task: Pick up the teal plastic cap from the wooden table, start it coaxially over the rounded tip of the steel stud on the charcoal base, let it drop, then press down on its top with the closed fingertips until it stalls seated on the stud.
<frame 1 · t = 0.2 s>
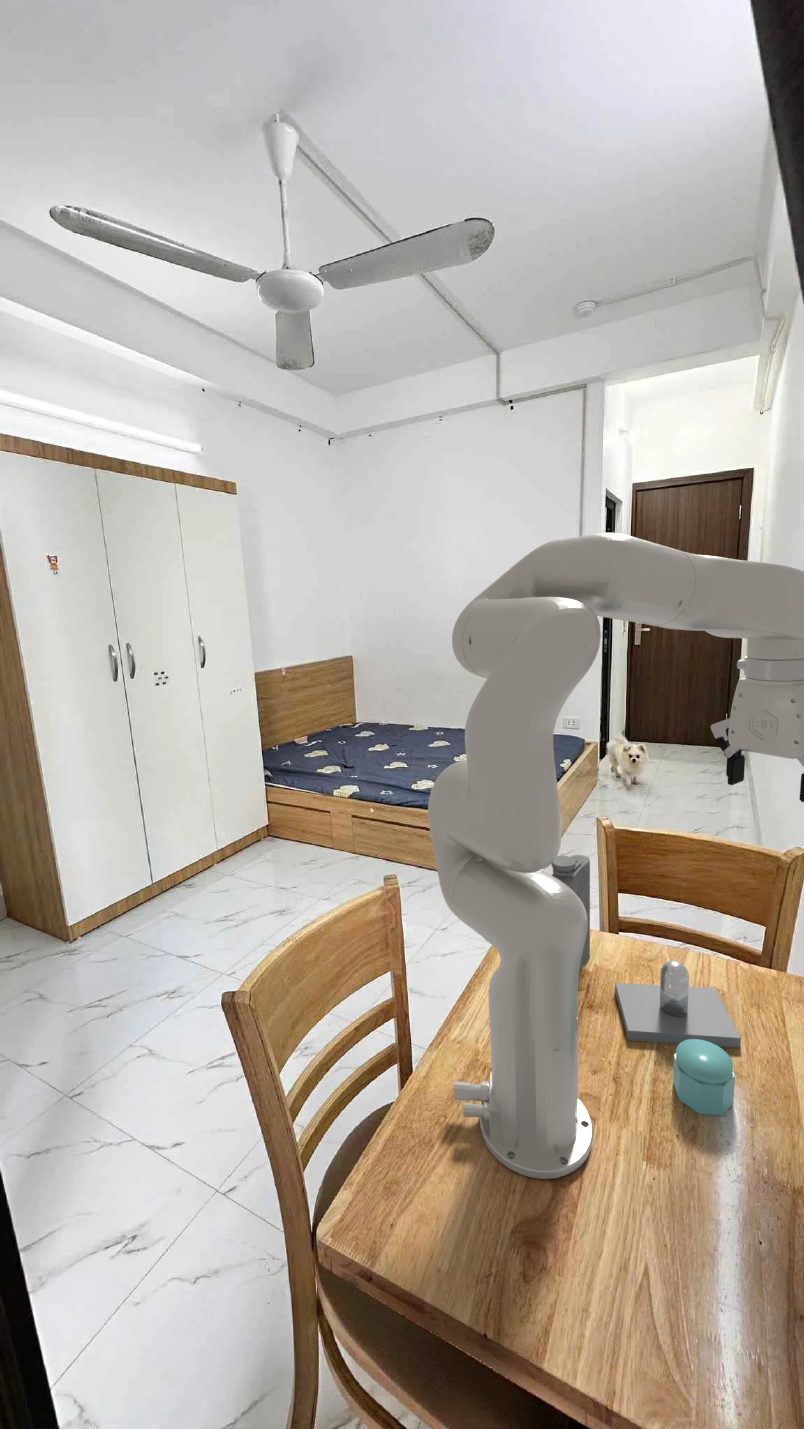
hand: (770, 791, 83), 31 cm above the table, tool pointing down, fingers open, 9 cm apart
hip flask: (565, 977, 94), on the table
cap: (702, 1093, 71), on the table
steel stud: (674, 985, 83), on the stud base, point 5 cm above the table
stud base: (673, 1017, 84), on the table
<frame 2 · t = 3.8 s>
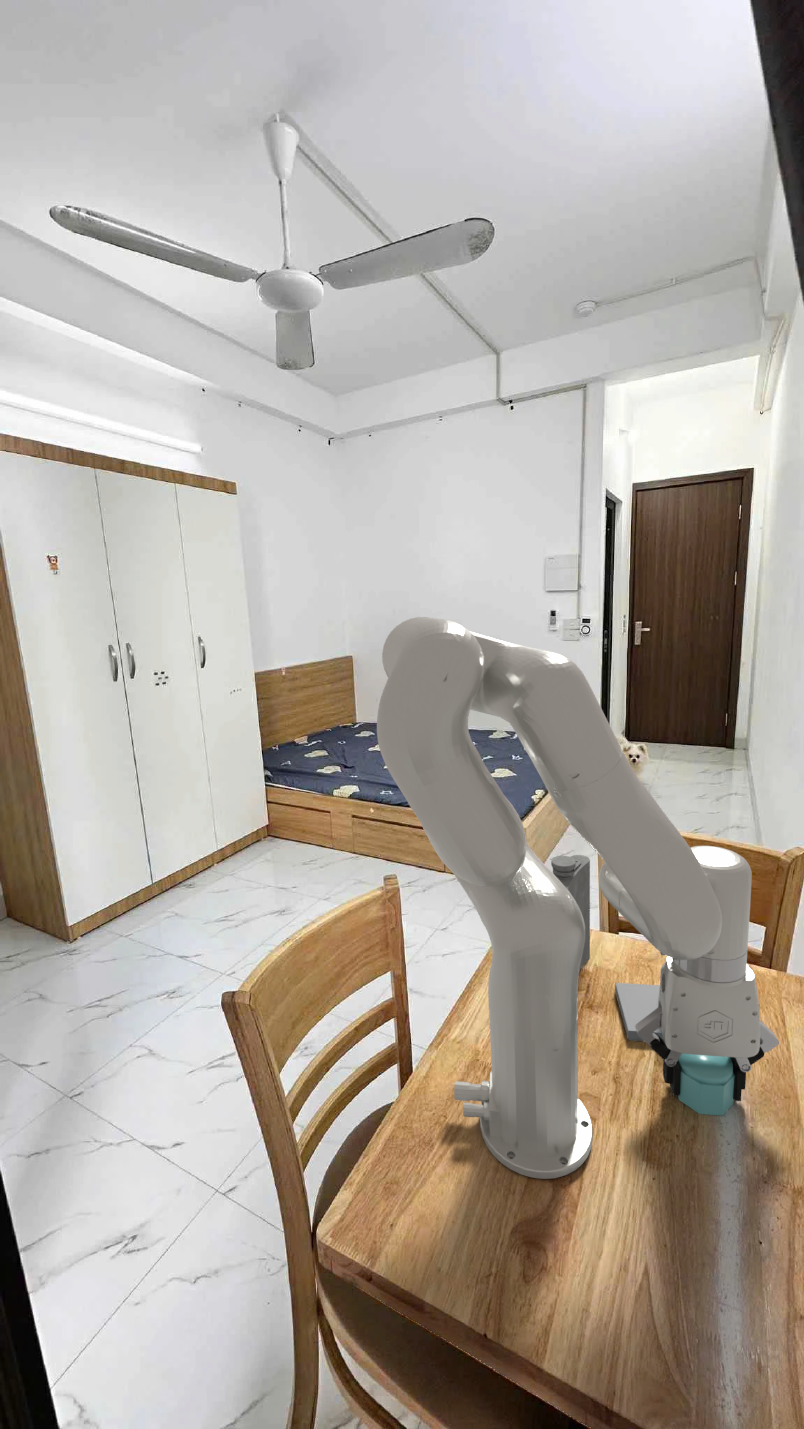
hand: (702, 1087, 71), 1 cm above the table, tool pointing down, fingers closed on cap, 6 cm apart
cap: (702, 1093, 71), on the table, touching gripper
everything else where it was.
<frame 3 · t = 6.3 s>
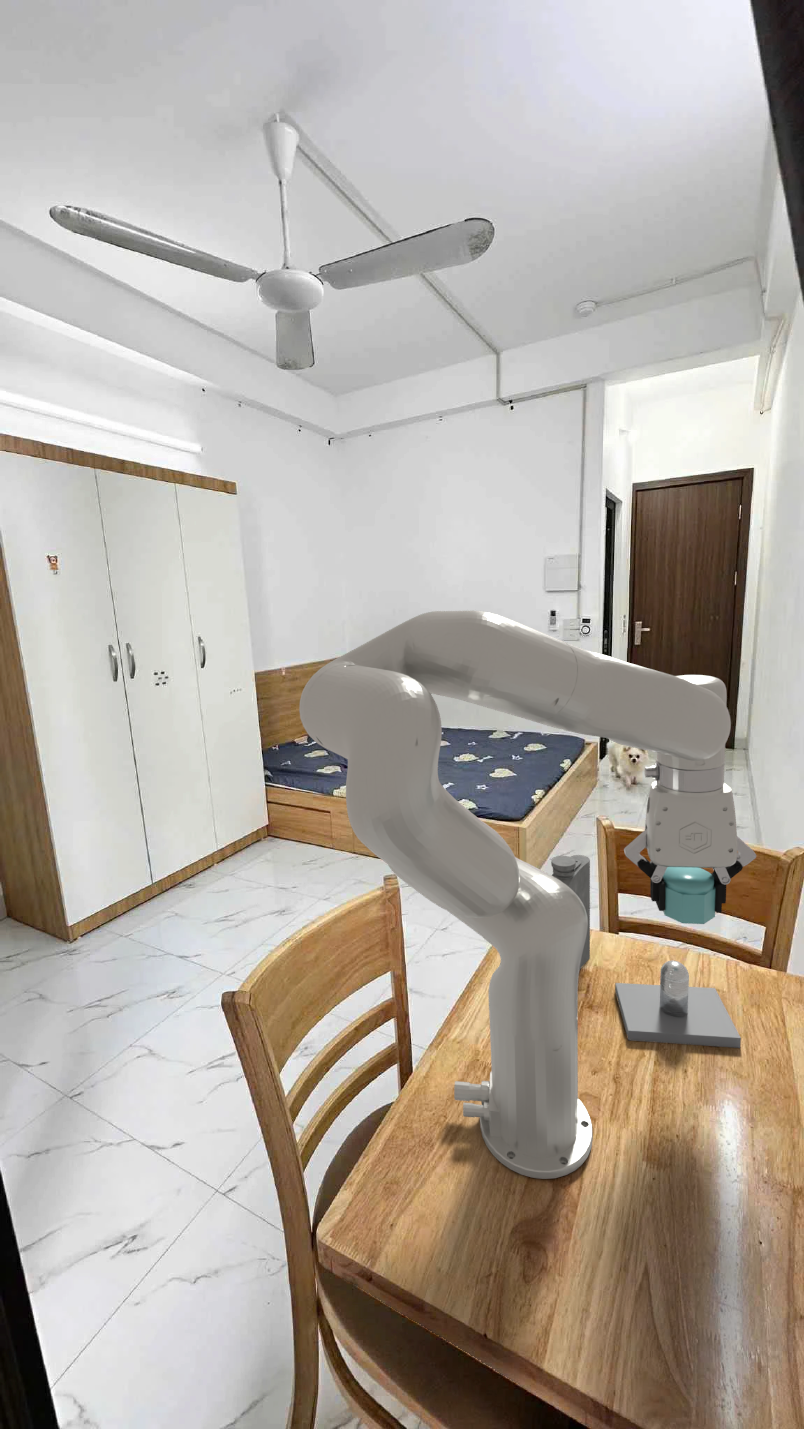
hand: (687, 905, 77), 19 cm above the table, tool pointing down, fingers closed on cap, 6 cm apart
cap: (687, 910, 77), point 18 cm above the table, touching gripper
everything else where it was.
when the fingers open (8 cm above the table, at t = 8.8 s): cap drops 3 cm, resting on steel stud.
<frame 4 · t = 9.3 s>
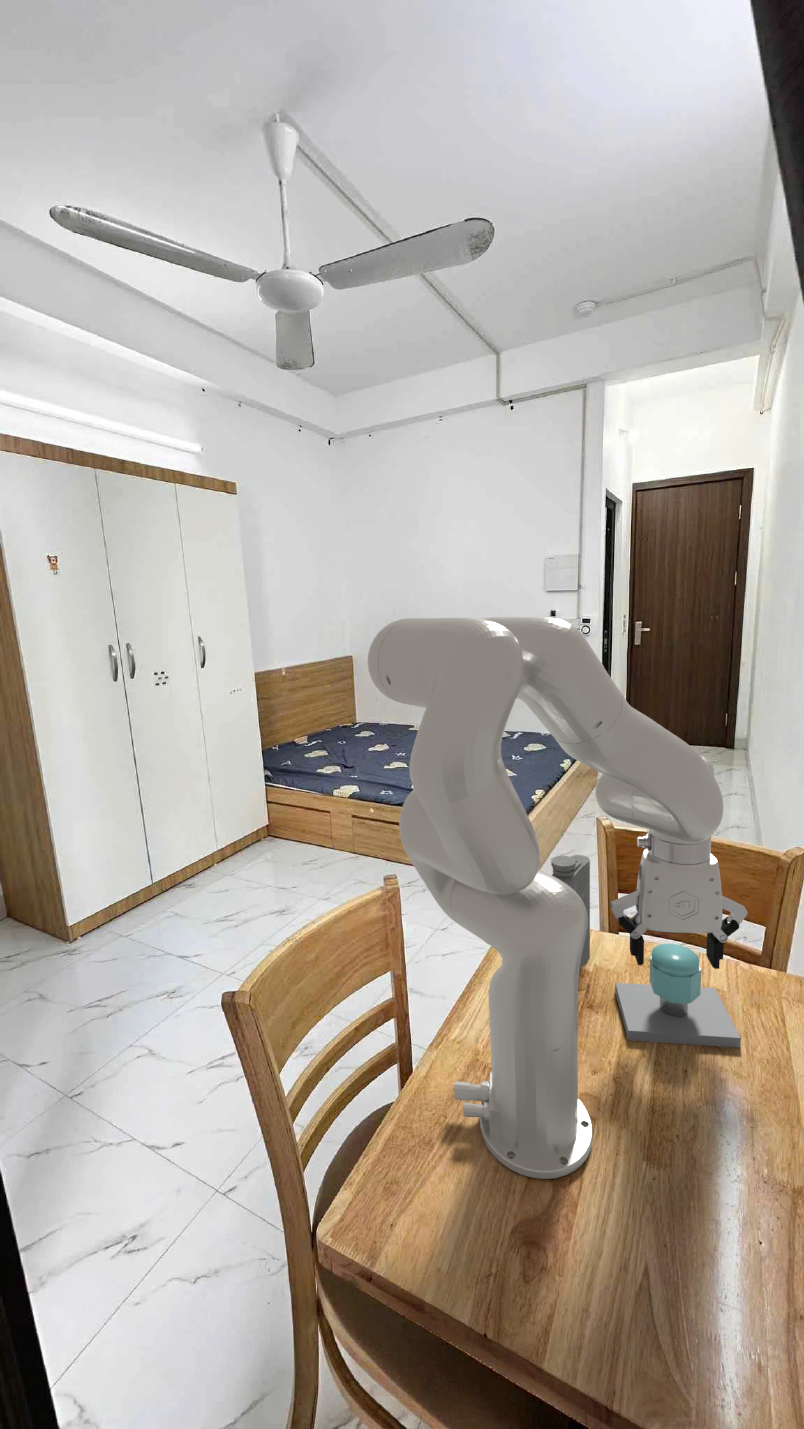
hand: (675, 960, 82), 9 cm above the table, tool pointing down, fingers open, 9 cm apart
cap: (674, 988, 83), point 5 cm above the table, touching steel stud
everything else where it was.
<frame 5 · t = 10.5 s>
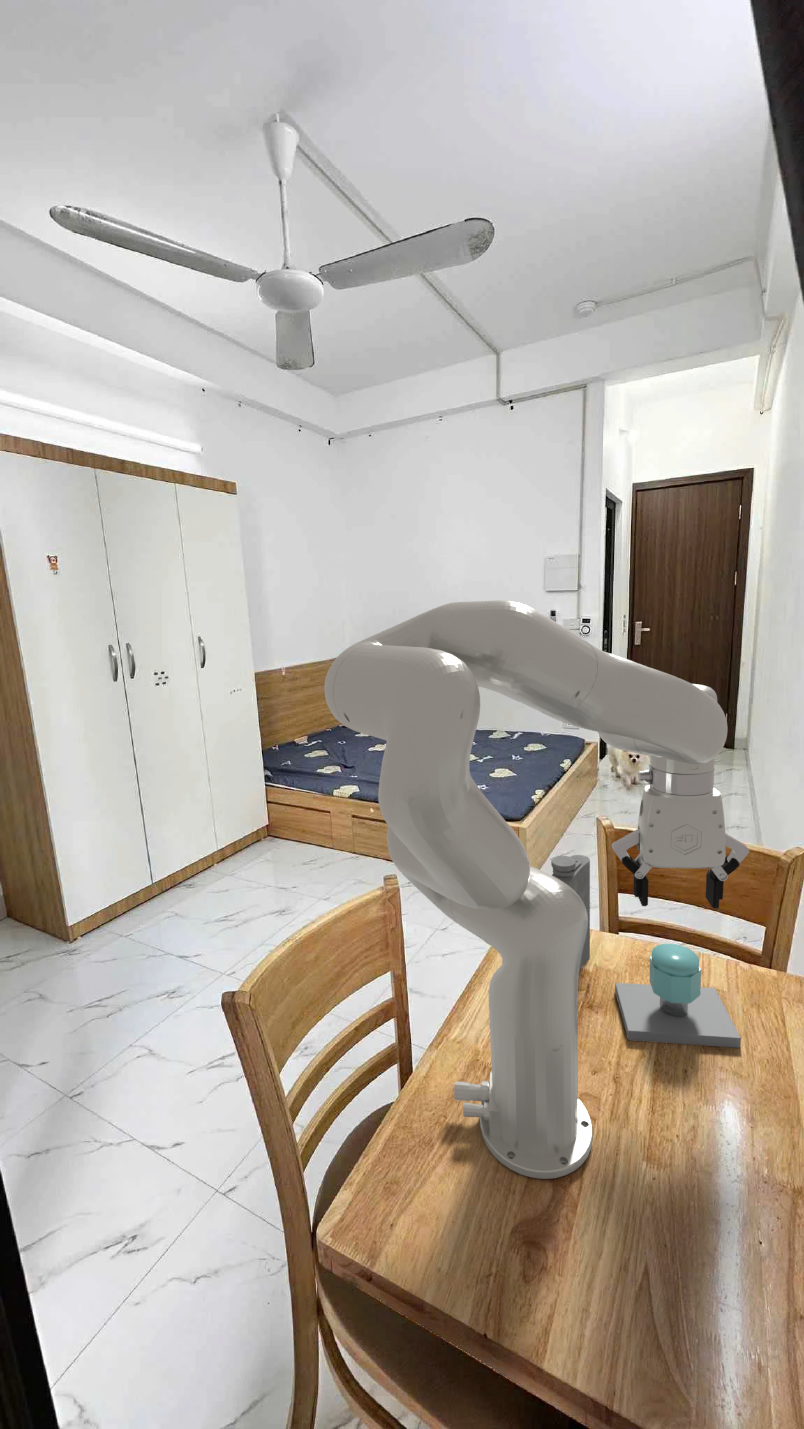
hand: (676, 901, 80), 18 cm above the table, tool pointing down, fingers open, 8 cm apart
nothing on the table moved.
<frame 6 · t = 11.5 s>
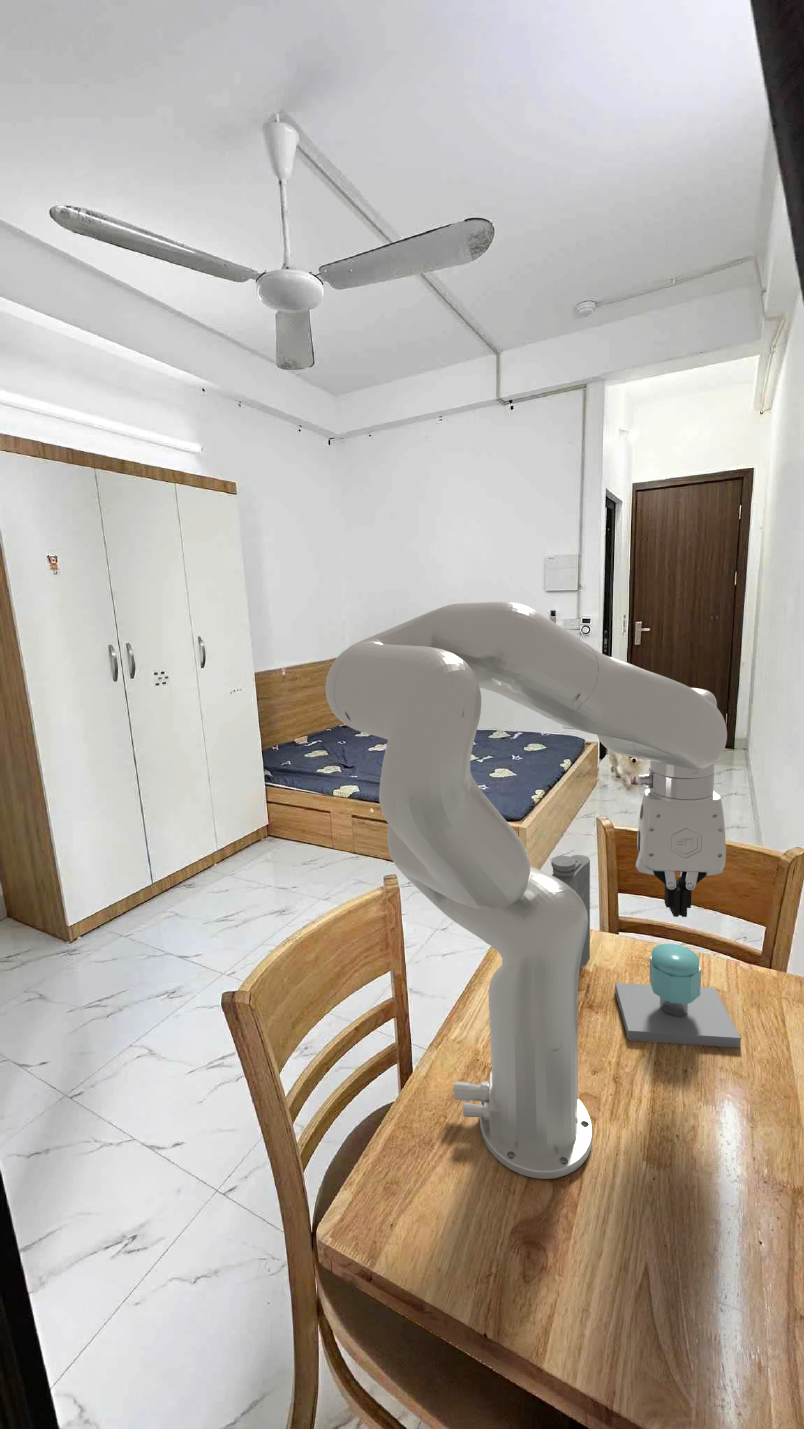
hand: (677, 911, 81), 16 cm above the table, tool pointing down, fingers closed
nothing on the table moved.
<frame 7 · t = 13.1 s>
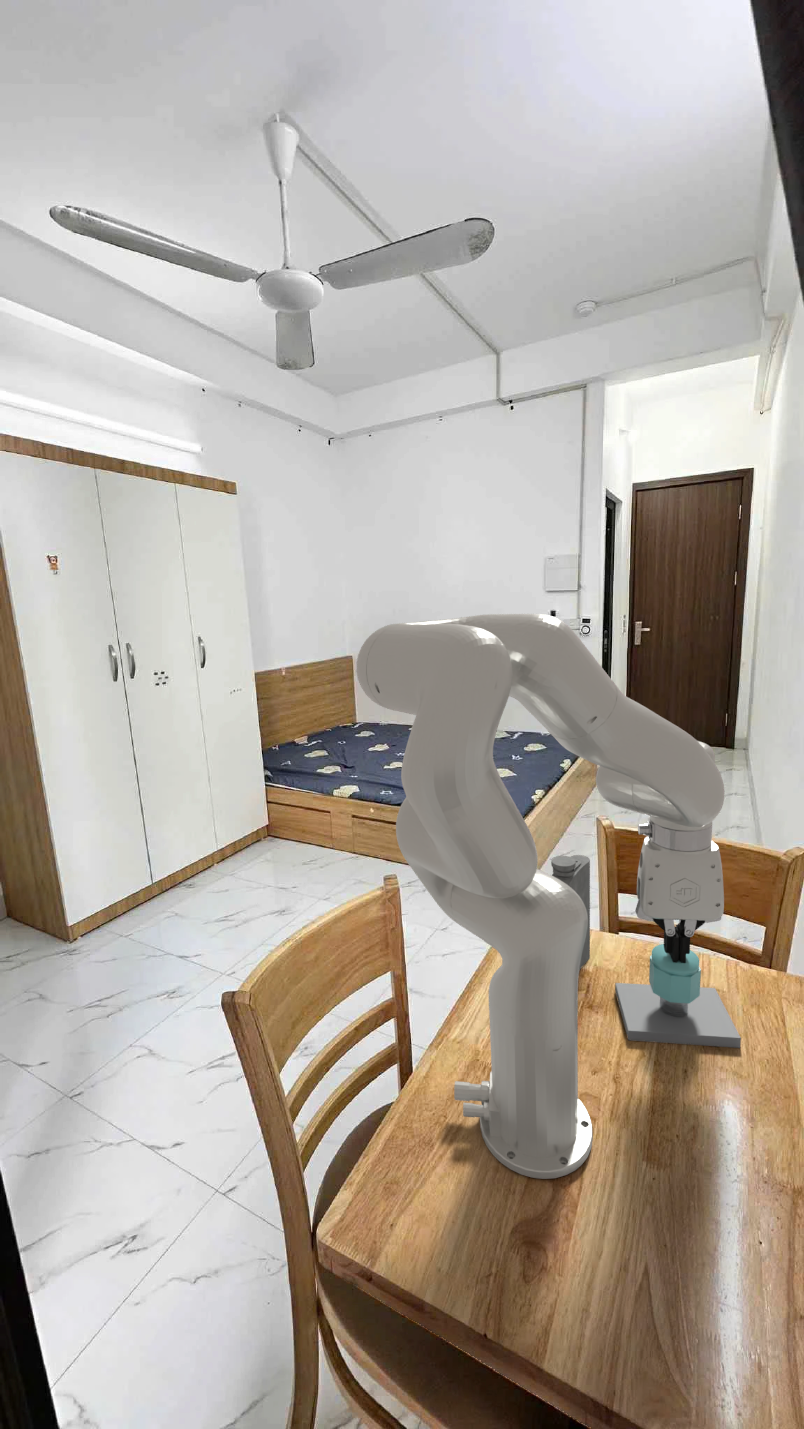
hand: (676, 956, 82), 10 cm above the table, tool pointing down, fingers closed
cap: (673, 988, 83), point 5 cm above the table, touching gripper, steel stud
everything else where it was.
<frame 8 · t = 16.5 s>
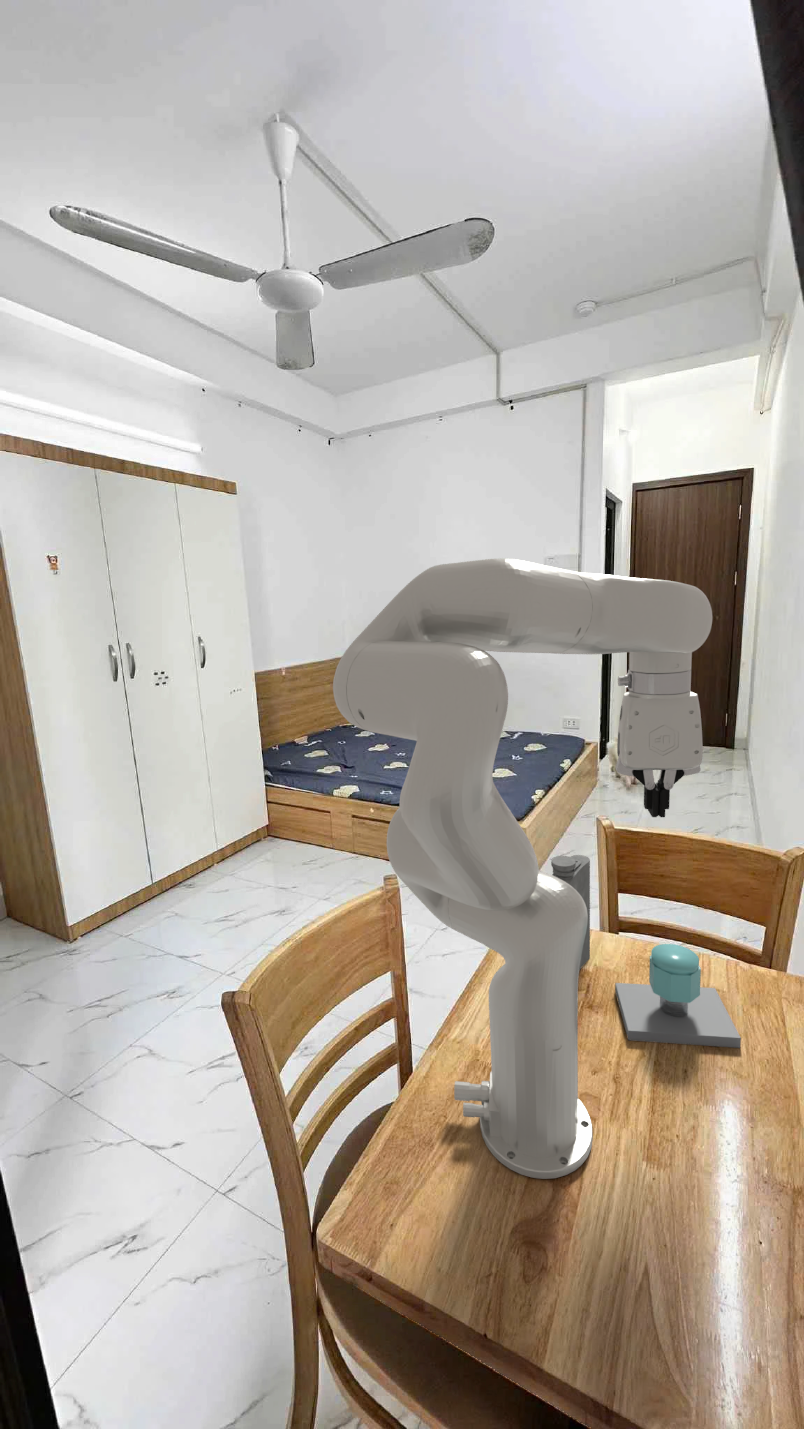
hand: (656, 813, 82), 29 cm above the table, tool pointing down, fingers closed
cap: (674, 988, 83), point 5 cm above the table, touching steel stud
everything else where it was.
at the end: cap 0.3 cm off-centre on the steel stud, point 4.7 cm above the steel stud's base; cap tilted 6°; the gripper is holding nothing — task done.
